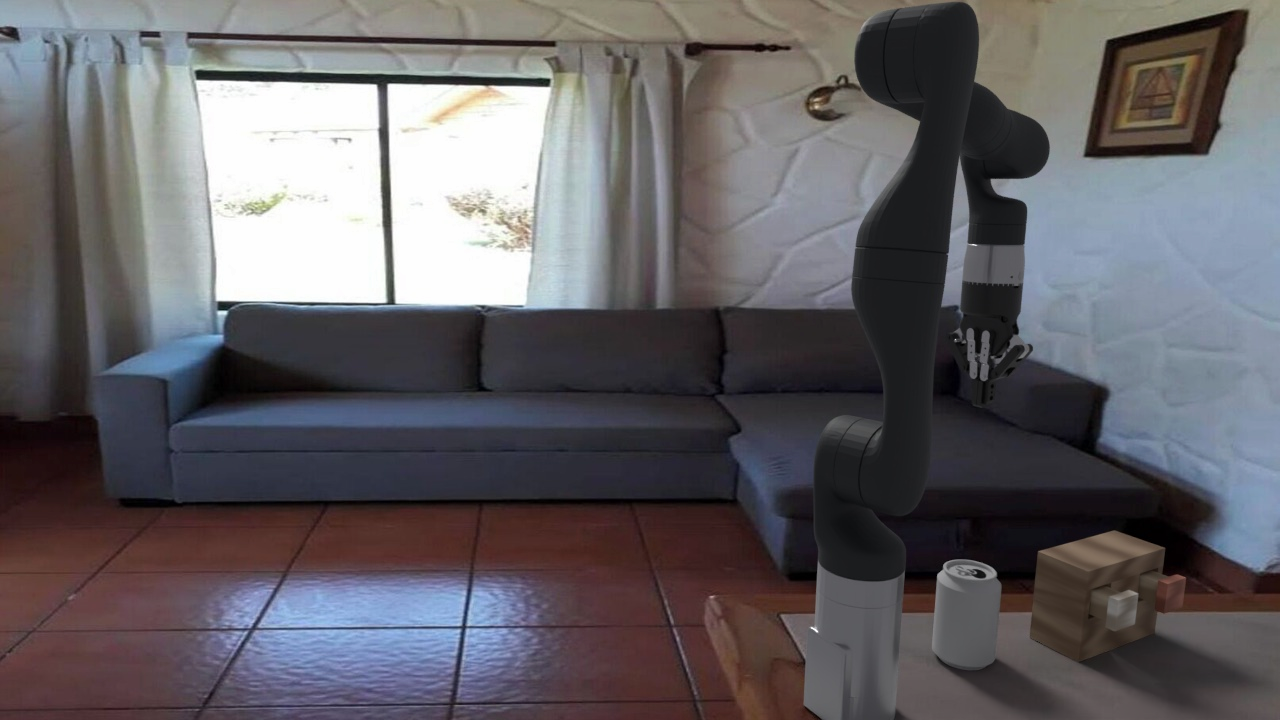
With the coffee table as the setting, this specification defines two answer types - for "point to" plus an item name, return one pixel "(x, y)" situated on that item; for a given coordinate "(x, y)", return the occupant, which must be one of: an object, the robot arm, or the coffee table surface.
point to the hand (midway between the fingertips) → (981, 406)
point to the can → (966, 614)
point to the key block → (1068, 592)
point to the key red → (1162, 590)
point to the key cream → (1113, 607)
